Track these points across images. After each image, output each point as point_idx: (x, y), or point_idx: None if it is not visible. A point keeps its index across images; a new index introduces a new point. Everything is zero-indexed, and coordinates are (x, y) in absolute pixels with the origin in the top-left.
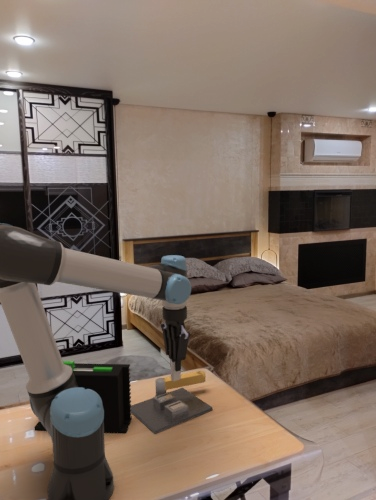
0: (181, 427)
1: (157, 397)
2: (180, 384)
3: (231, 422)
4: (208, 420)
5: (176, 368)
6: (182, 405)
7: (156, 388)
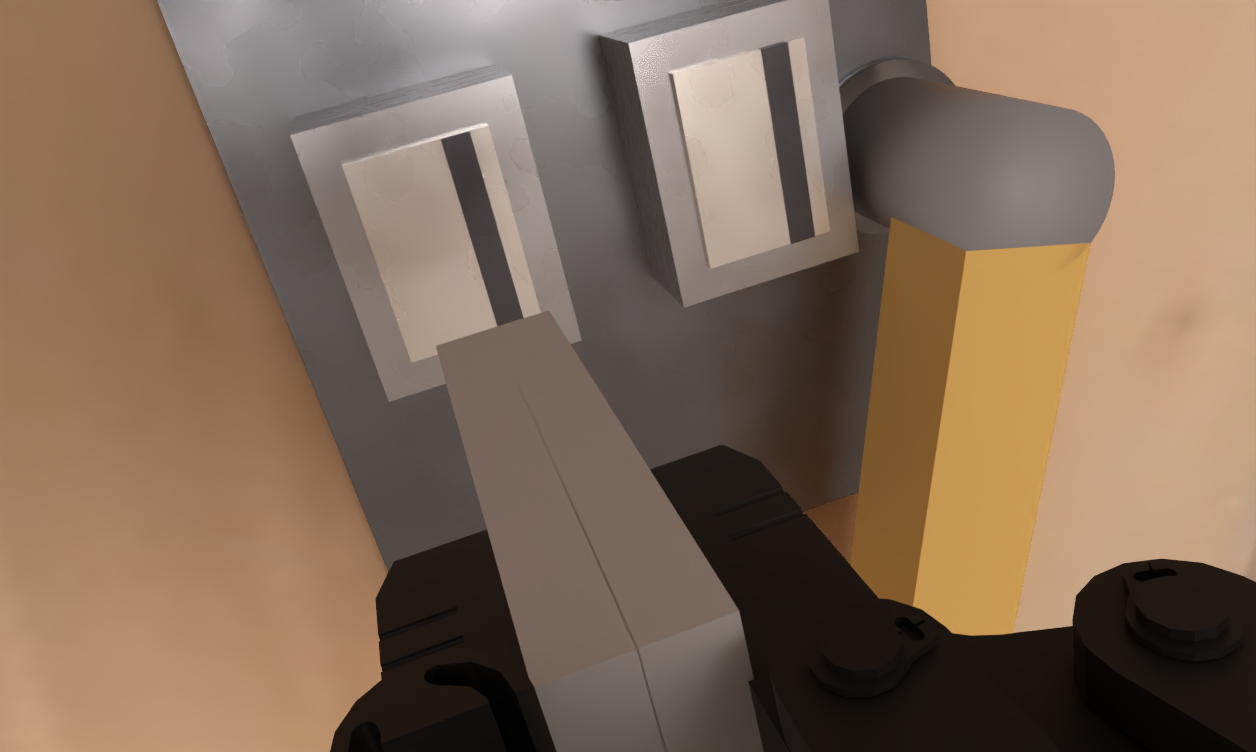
0: (143, 188)
1: (777, 48)
2: (883, 452)
3: (98, 746)
4: (214, 537)
5: (422, 609)
6: (412, 331)
7: (963, 96)
